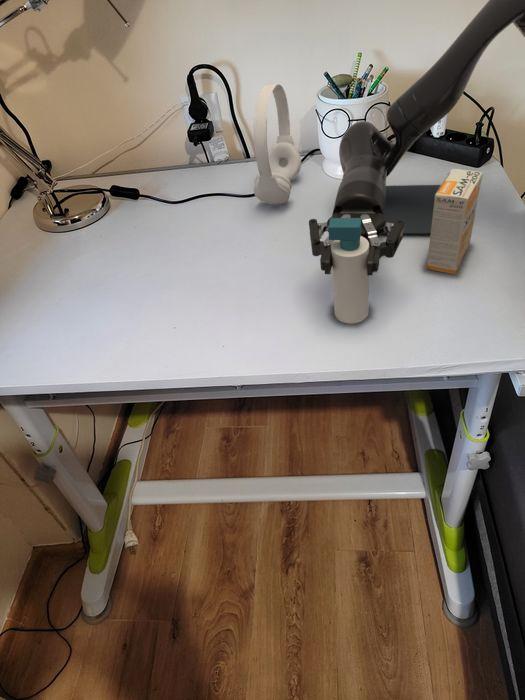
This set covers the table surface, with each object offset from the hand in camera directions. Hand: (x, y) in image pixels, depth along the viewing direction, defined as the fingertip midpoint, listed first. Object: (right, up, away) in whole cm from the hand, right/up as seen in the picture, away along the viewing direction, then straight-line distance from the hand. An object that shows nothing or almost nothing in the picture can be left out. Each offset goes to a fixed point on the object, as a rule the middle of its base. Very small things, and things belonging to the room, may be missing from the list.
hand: (348, 269), depth 67 cm
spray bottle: (+2, -5, +9) cm, 10 cm away
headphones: (-8, +21, +36) cm, 43 cm away
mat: (+14, +15, +26) cm, 33 cm away
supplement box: (+19, +4, +15) cm, 24 cm away
